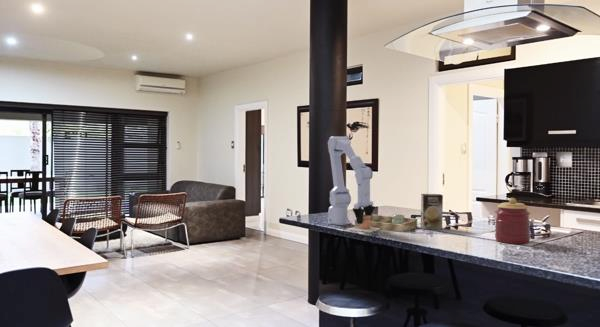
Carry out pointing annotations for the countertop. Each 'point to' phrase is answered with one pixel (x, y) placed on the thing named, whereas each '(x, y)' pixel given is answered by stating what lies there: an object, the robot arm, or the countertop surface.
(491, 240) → the countertop surface
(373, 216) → the compartment tray
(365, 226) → the terracotta pot
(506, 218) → the canister
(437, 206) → the coffee box
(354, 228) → the ceramic tile
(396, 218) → the sage pot
